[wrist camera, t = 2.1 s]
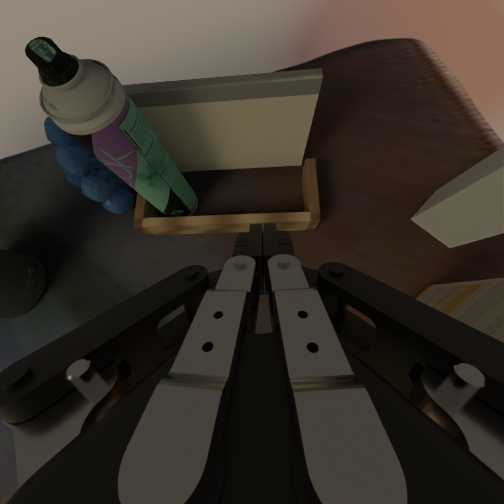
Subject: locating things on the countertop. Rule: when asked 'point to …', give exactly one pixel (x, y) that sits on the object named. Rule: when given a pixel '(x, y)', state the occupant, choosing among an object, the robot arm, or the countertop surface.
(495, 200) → the milk
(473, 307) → the supplement box
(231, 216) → the wooden u-shaped bracket
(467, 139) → the countertop surface
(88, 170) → the grapes
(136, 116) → the spray can
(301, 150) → the cream thin rectangular board
